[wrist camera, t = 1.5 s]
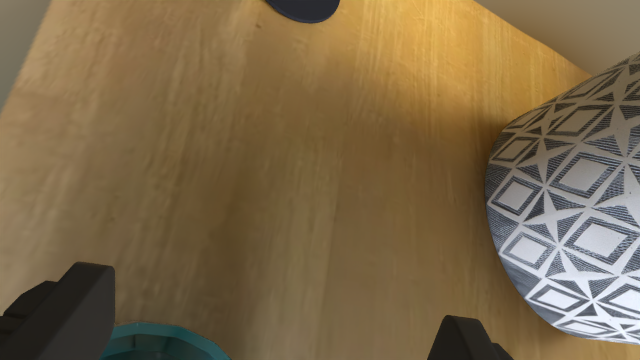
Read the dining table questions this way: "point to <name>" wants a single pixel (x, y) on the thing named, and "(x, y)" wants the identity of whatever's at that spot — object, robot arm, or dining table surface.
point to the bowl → (159, 343)
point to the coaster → (306, 9)
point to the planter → (574, 206)
